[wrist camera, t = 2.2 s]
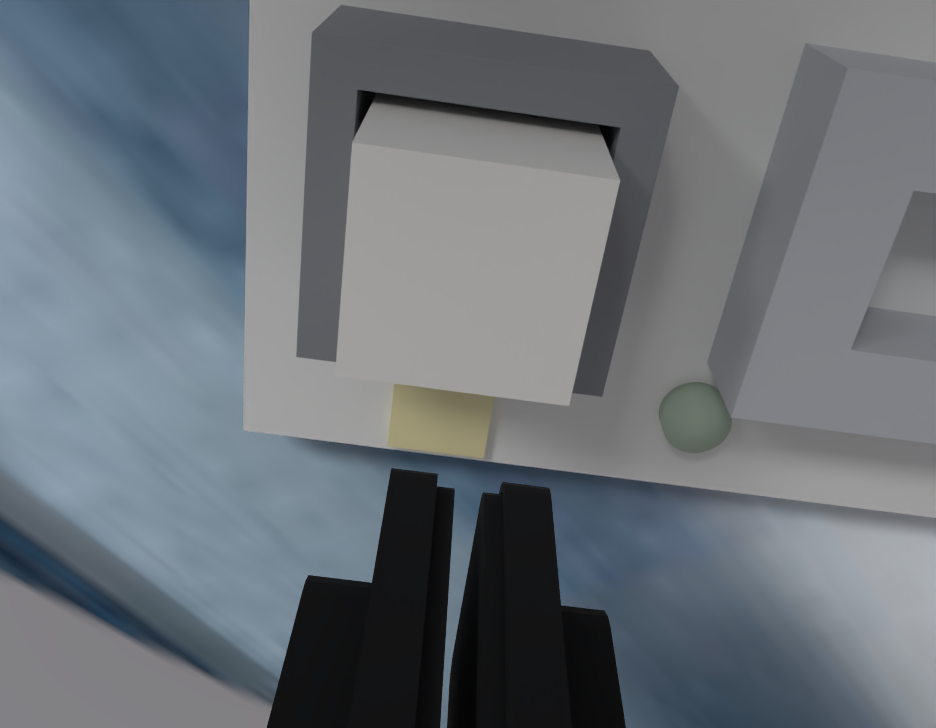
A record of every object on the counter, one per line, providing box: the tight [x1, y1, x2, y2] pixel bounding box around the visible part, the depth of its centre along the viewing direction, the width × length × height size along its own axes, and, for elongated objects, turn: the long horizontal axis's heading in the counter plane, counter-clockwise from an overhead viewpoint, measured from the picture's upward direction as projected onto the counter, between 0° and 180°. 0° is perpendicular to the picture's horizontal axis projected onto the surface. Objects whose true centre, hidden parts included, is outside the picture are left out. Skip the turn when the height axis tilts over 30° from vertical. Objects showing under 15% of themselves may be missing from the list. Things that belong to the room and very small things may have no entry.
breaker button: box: [335, 93, 620, 406], centre depth 19 cm, size 5×5×4 cm
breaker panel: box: [243, 0, 936, 518], centre depth 23 cm, size 18×24×6 cm
